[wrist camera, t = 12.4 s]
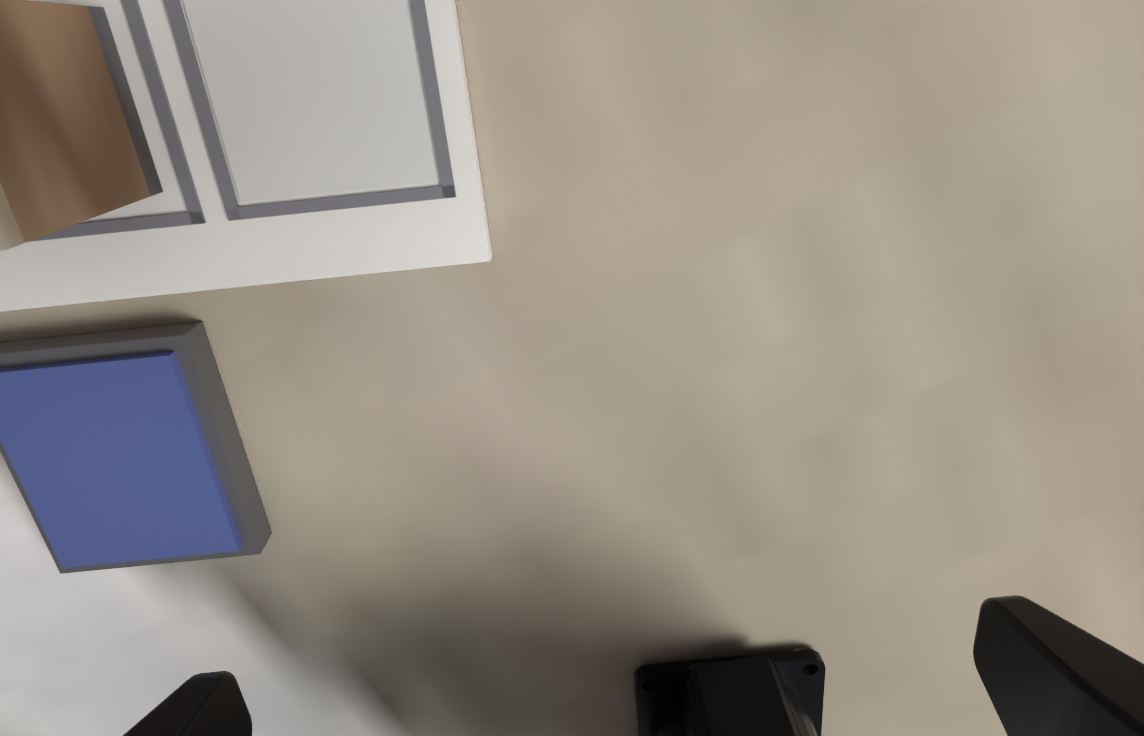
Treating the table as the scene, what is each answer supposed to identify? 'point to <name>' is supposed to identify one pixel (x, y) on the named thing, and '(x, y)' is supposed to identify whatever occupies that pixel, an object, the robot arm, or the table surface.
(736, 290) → the table surface
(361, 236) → the sheet
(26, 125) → the beige block
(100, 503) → the ink pad
